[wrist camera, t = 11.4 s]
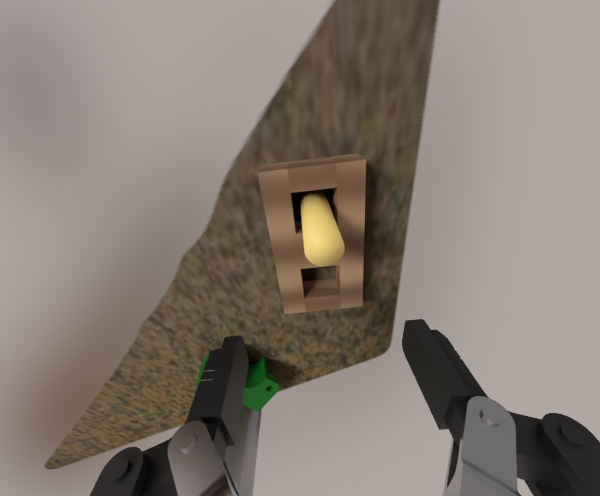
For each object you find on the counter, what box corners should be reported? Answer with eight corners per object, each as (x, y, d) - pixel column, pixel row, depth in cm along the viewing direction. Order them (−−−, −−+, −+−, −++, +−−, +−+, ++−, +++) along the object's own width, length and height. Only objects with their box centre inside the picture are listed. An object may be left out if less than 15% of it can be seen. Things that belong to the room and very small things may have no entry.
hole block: (356, 288, 34) (362, 306, 31) (285, 295, 34) (284, 314, 31) (357, 153, 25) (366, 159, 22) (261, 164, 25) (257, 172, 22)
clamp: (268, 341, 46) (289, 386, 39) (248, 363, 46) (266, 411, 40) (214, 330, 37) (230, 385, 31) (191, 357, 38) (201, 416, 32)
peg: (322, 215, 29) (337, 269, 19) (297, 209, 28) (300, 262, 19) (329, 190, 27) (350, 235, 18) (303, 184, 27) (310, 227, 17)
